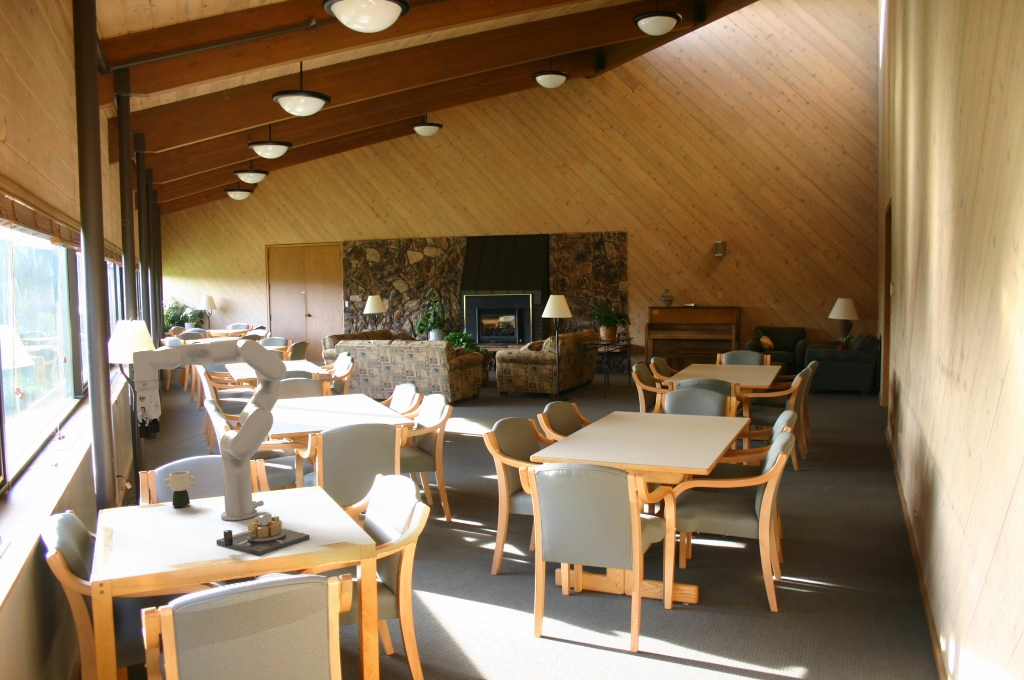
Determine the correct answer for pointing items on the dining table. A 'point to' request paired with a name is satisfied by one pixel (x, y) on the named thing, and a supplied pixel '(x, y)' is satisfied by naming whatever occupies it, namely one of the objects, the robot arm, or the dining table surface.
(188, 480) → the character mug
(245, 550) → the base plate
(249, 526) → the knobbed lever handle
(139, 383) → the robot arm
